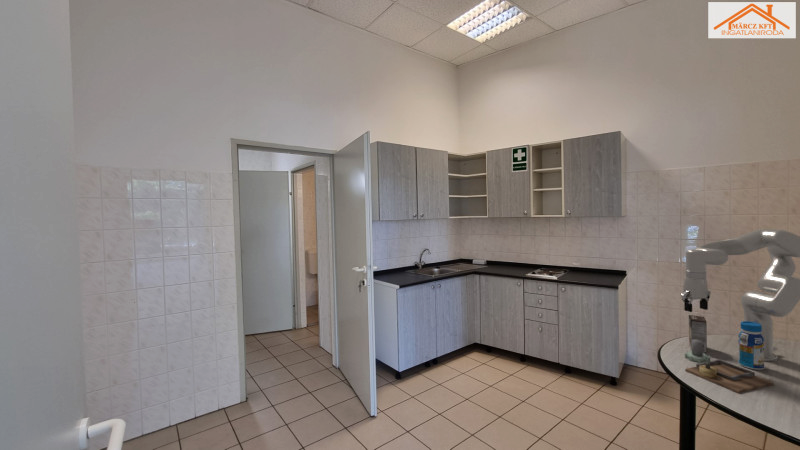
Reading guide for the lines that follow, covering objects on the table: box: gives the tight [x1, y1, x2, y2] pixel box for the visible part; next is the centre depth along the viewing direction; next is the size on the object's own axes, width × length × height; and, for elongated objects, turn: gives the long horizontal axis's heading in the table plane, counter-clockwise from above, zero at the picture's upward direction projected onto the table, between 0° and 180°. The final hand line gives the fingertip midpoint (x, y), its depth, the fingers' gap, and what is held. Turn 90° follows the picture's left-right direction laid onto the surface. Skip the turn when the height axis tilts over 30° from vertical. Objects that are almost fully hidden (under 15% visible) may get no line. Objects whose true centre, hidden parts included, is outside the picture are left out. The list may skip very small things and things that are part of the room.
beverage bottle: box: [737, 320, 765, 371], centre depth 156 cm, size 8×8×20 cm
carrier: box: [685, 359, 775, 394], centre depth 147 cm, size 20×20×6 cm
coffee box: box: [688, 314, 708, 353], centre depth 177 cm, size 9×6×16 cm
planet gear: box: [684, 339, 711, 364], centre depth 166 cm, size 9×9×9 cm
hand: (696, 310), depth 165 cm, fingers open, 9 cm apart
